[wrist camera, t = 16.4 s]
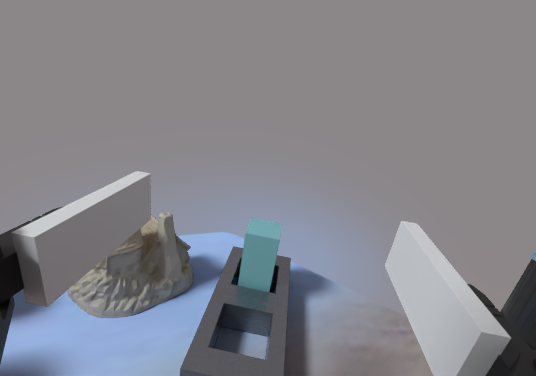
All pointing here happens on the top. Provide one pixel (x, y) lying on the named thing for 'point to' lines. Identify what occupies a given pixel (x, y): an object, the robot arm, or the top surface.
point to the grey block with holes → (242, 324)
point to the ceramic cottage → (137, 273)
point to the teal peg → (259, 254)
